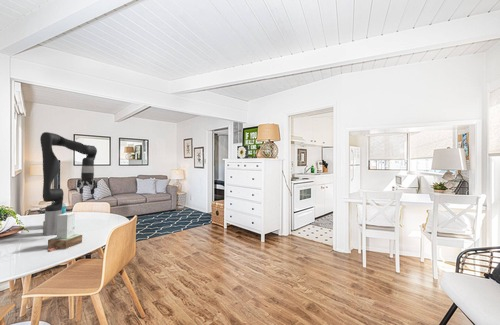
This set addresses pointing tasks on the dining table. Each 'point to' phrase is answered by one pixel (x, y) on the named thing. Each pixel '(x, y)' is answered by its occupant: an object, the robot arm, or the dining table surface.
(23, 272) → the dining table surface
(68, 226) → the skincare box
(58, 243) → the stand
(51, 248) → the arrow marker
